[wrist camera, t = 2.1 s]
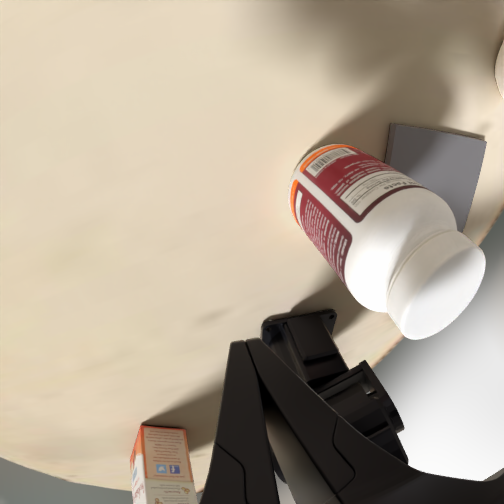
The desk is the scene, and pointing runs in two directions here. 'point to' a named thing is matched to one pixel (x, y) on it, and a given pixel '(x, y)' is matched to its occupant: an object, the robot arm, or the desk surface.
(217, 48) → the desk surface
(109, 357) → the desk surface
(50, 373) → the desk surface
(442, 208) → the pill bottle
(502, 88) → the cat figurine
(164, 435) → the cracker box
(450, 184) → the mat
